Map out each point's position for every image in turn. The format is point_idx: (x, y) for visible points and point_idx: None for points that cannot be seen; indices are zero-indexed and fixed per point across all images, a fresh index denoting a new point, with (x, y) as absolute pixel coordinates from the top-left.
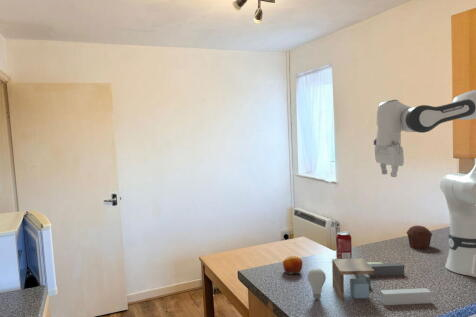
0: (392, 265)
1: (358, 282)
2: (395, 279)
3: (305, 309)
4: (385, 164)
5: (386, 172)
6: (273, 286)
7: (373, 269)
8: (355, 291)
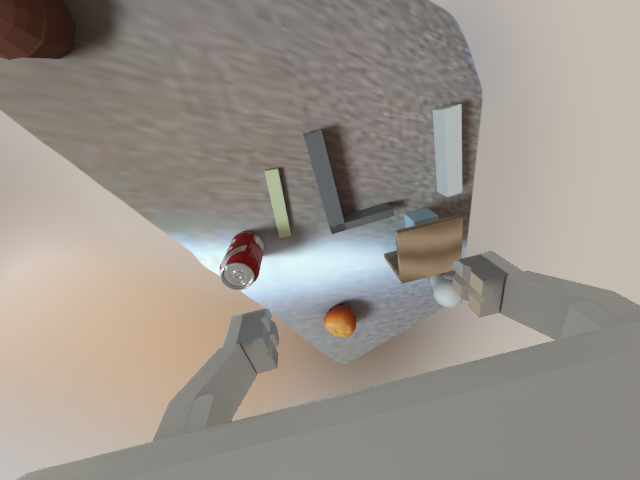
0: (326, 158)
1: None
2: (347, 153)
3: None
4: (215, 420)
5: (265, 323)
6: (390, 323)
7: (457, 218)
8: None
